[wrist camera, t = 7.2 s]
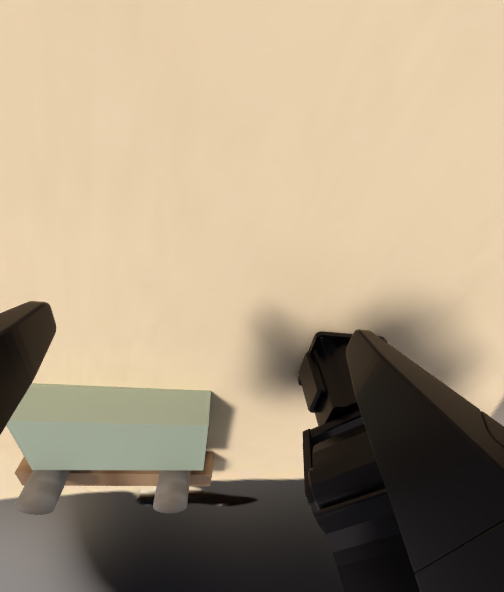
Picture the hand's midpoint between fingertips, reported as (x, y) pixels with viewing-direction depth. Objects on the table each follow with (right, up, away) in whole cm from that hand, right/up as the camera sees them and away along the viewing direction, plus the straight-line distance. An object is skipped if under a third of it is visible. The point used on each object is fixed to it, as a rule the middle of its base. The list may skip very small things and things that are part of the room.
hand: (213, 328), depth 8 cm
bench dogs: (-13, -17, +23) cm, 32 cm away
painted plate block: (-11, -11, +20) cm, 25 cm away
